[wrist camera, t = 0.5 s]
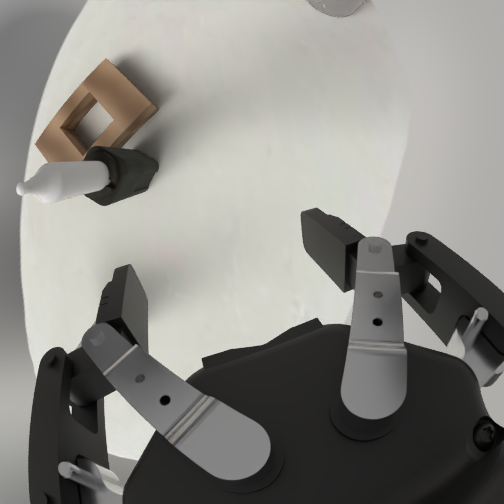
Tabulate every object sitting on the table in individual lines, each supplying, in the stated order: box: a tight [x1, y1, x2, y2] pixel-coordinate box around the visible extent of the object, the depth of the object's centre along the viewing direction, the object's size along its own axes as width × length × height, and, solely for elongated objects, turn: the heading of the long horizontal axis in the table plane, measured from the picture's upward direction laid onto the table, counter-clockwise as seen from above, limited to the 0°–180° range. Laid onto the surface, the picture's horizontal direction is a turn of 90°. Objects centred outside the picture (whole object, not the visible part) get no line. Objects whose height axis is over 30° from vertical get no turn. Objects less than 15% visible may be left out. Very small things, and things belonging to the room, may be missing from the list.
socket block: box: [35, 59, 159, 163], centre depth 30 cm, size 16×11×4 cm
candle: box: [16, 146, 158, 206], centre depth 23 cm, size 5×5×25 cm
